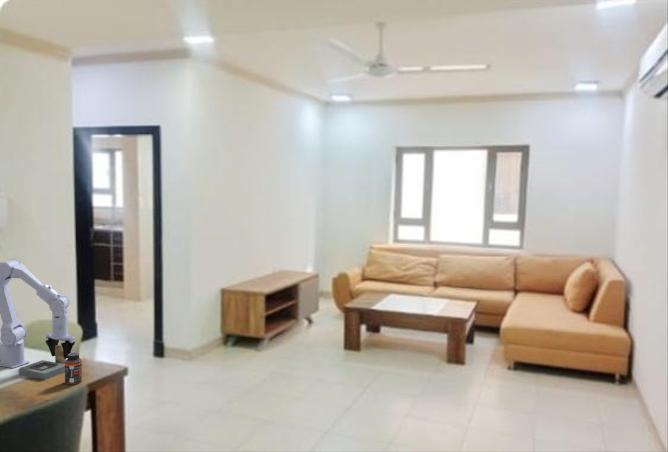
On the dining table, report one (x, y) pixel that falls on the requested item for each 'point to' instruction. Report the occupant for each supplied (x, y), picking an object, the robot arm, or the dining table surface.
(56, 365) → the board
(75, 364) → the supplement bottle
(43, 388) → the dining table surface
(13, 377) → the dining table surface
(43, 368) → the pad
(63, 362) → the peg
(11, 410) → the dining table surface
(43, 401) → the dining table surface
